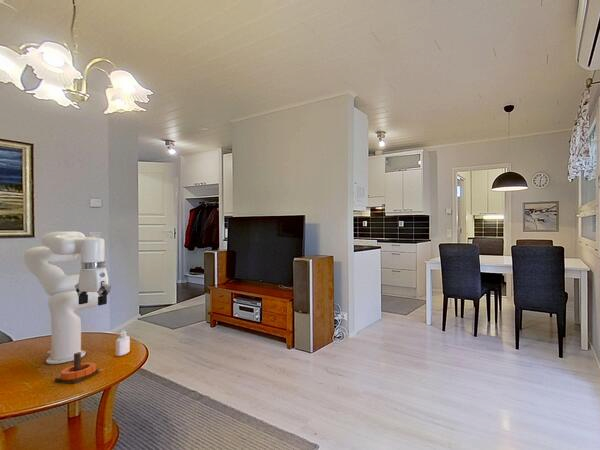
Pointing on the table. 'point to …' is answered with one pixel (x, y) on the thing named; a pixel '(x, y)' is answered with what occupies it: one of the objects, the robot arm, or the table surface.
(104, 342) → the table surface
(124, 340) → the eye dropper bottle
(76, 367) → the post
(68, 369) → the ring
